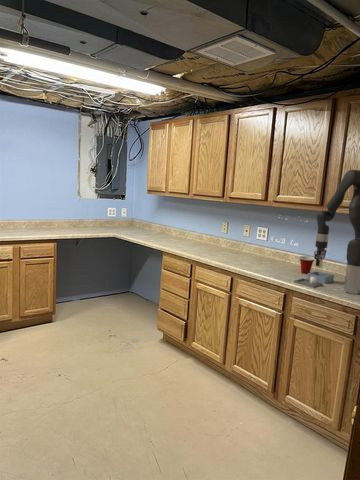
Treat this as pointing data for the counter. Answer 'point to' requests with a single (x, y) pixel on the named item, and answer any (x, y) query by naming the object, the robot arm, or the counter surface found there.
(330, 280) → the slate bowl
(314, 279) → the grey stone
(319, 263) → the sandy stone
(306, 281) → the parts tray
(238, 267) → the counter surface
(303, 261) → the plastic cup
